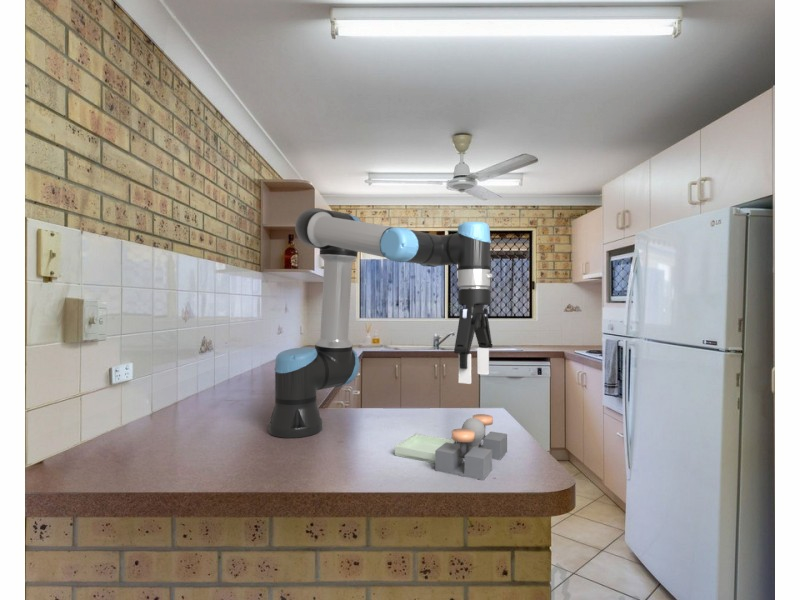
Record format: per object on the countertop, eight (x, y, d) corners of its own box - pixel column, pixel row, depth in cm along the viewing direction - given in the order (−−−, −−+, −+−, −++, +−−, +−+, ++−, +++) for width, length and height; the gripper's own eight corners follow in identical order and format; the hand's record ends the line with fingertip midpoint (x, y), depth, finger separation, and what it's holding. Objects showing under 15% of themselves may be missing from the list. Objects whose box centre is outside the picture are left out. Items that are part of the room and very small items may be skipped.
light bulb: (484, 465, 101) (485, 422, 101) (460, 464, 102) (461, 420, 102) (485, 457, 106) (485, 416, 106) (462, 455, 107) (462, 414, 107)
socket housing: (435, 470, 98) (435, 450, 98) (465, 444, 115) (465, 427, 115) (483, 480, 93) (483, 458, 93) (507, 451, 110) (507, 433, 110)
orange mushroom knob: (469, 439, 109) (469, 417, 109) (476, 434, 114) (476, 413, 114) (489, 443, 107) (489, 420, 107) (495, 437, 111) (495, 415, 111)
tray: (394, 455, 107) (394, 446, 107) (415, 441, 118) (415, 433, 118) (438, 463, 102) (438, 454, 102) (456, 449, 112) (456, 440, 112)
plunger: (448, 458, 97) (448, 433, 97) (456, 451, 101) (456, 427, 101) (470, 462, 94) (470, 436, 94) (477, 455, 99) (477, 430, 99)
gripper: (472, 286, 91) (473, 389, 91) (503, 289, 113) (504, 372, 113) (439, 287, 95) (439, 385, 95) (475, 290, 117) (475, 370, 117)
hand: (474, 378), depth 104 cm, fingers open, 13 cm apart
